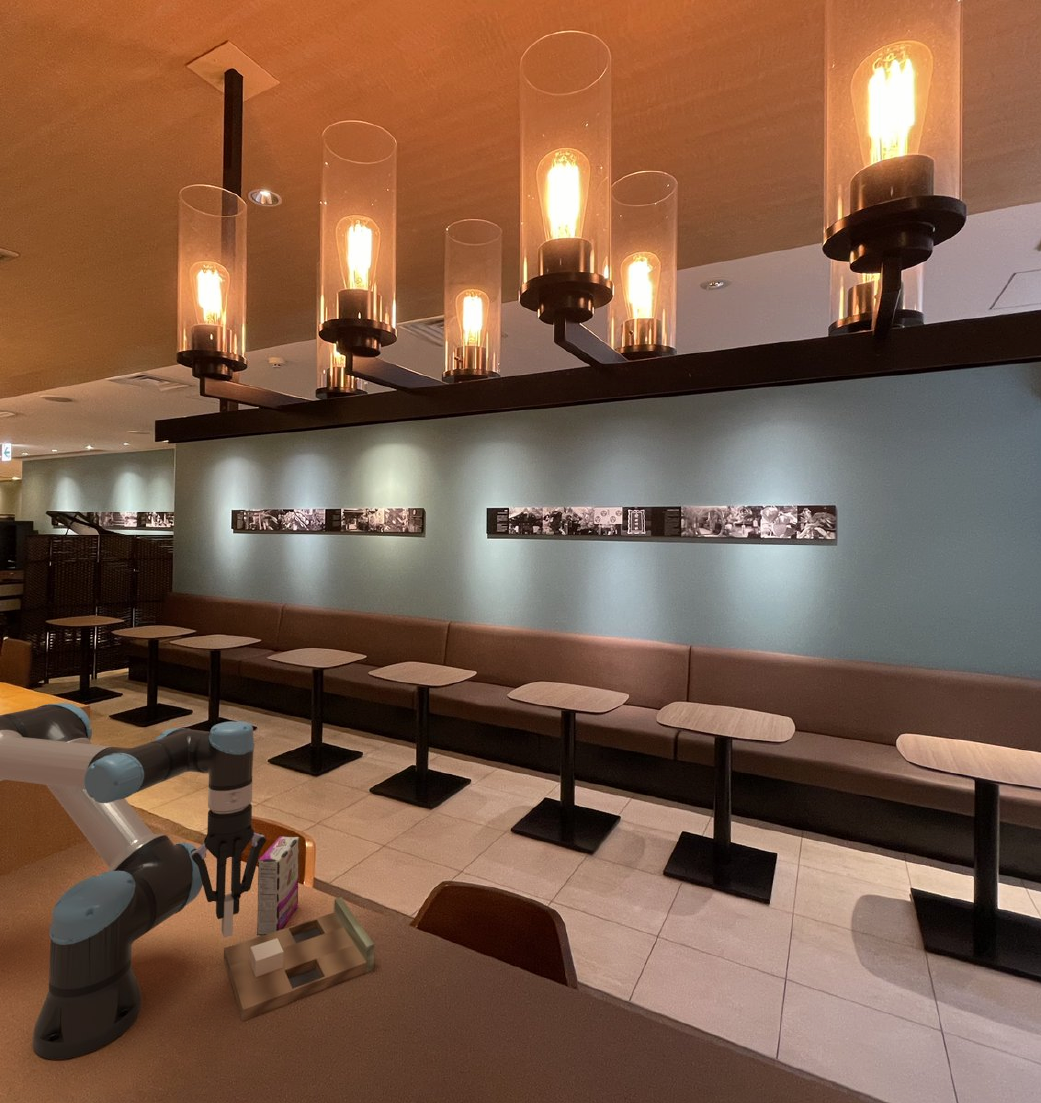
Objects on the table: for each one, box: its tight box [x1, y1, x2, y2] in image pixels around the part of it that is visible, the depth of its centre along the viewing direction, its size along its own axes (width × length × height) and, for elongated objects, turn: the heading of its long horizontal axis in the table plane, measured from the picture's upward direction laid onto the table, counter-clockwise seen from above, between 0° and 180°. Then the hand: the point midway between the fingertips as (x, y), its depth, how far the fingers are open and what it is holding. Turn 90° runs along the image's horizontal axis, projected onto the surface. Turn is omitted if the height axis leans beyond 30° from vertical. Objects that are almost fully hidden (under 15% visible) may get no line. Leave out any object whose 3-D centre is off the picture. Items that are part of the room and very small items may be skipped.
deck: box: [223, 896, 375, 1022], centre depth 119 cm, size 24×20×5 cm
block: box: [250, 938, 284, 977], centre depth 115 cm, size 5×5×3 cm
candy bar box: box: [256, 835, 300, 936], centre depth 133 cm, size 11×5×16 cm, turn 179°
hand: (227, 932), depth 111 cm, fingers closed
